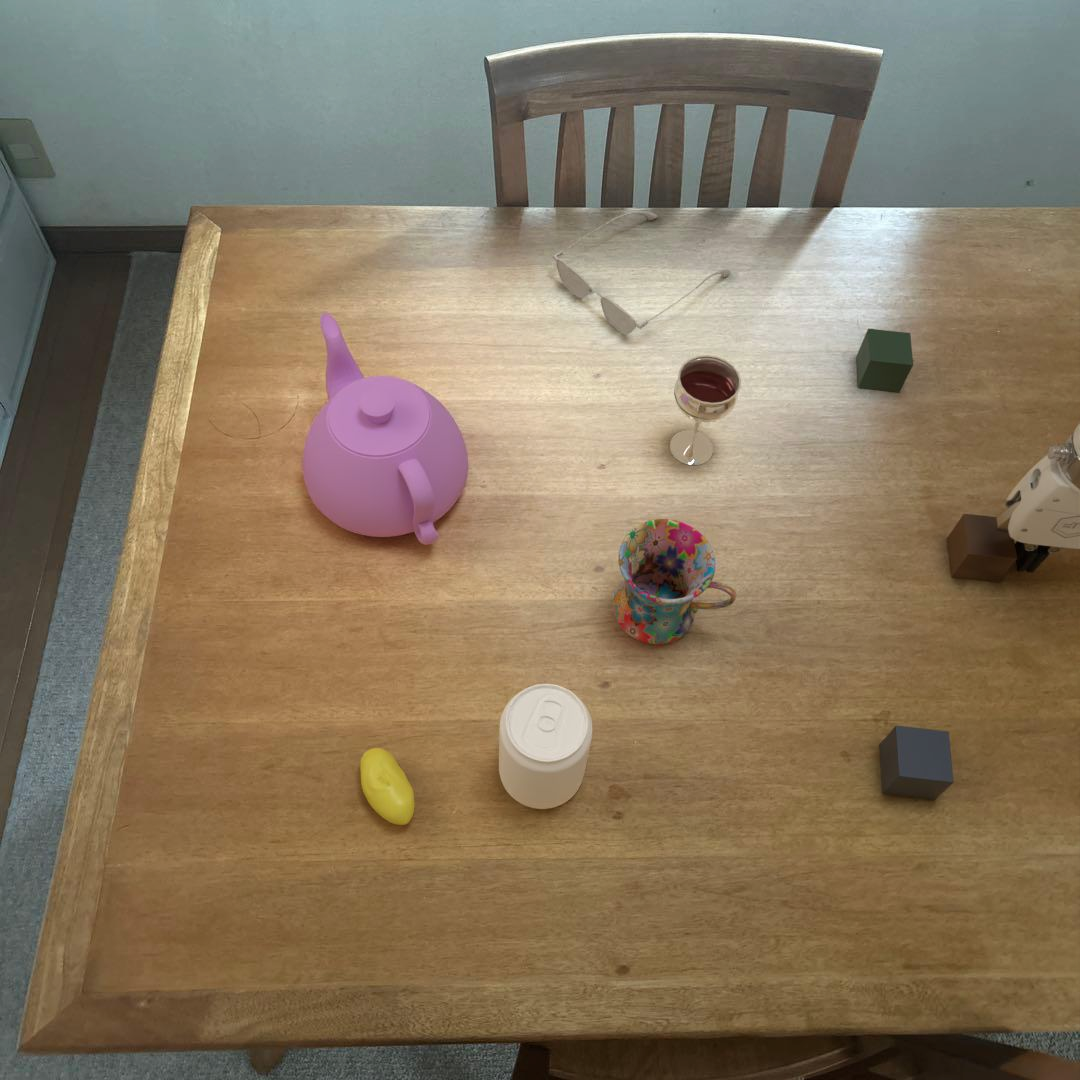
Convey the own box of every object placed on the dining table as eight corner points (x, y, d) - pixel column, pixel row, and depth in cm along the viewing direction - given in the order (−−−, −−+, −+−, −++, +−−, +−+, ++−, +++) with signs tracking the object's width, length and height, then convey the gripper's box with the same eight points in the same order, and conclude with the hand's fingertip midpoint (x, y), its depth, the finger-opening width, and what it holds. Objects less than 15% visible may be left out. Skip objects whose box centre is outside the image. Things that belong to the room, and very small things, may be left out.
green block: (896, 360, 132) (910, 332, 127) (899, 392, 129) (913, 365, 125) (855, 356, 132) (868, 328, 127) (857, 388, 129) (870, 360, 125)
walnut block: (992, 542, 118) (1011, 518, 114) (998, 582, 116) (1017, 558, 111) (946, 538, 118) (963, 513, 114) (951, 577, 116) (968, 553, 112)
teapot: (508, 522, 117) (510, 447, 106) (359, 592, 112) (344, 521, 100) (405, 366, 128) (396, 282, 116) (264, 423, 123) (241, 341, 111)
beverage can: (487, 796, 101) (486, 750, 91) (513, 719, 105) (516, 667, 95) (570, 822, 100) (579, 779, 90) (593, 743, 104) (604, 693, 94)
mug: (595, 633, 111) (605, 582, 102) (624, 560, 115) (636, 506, 106) (708, 673, 109) (728, 625, 100) (732, 598, 113) (754, 545, 104)
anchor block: (930, 750, 105) (949, 731, 101) (934, 800, 103) (954, 782, 99) (879, 744, 106) (895, 725, 101) (882, 794, 103) (899, 776, 99)
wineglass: (688, 481, 121) (706, 415, 111) (649, 441, 124) (664, 372, 113) (733, 453, 123) (755, 386, 113) (694, 414, 126) (712, 345, 116)
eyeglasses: (549, 276, 137) (551, 252, 133) (650, 212, 143) (654, 188, 140) (635, 347, 131) (639, 324, 128) (735, 277, 138) (742, 254, 134)
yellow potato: (393, 747, 103) (389, 732, 100) (425, 821, 100) (423, 808, 96) (351, 764, 102) (346, 750, 99) (382, 841, 99) (379, 828, 95)
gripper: (1029, 486, 99) (956, 583, 114) (1194, 502, 98) (1098, 598, 114) (1018, 420, 103) (949, 524, 118) (1177, 436, 102) (1086, 537, 118)
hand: (1022, 560), depth 116 cm, fingers closed
